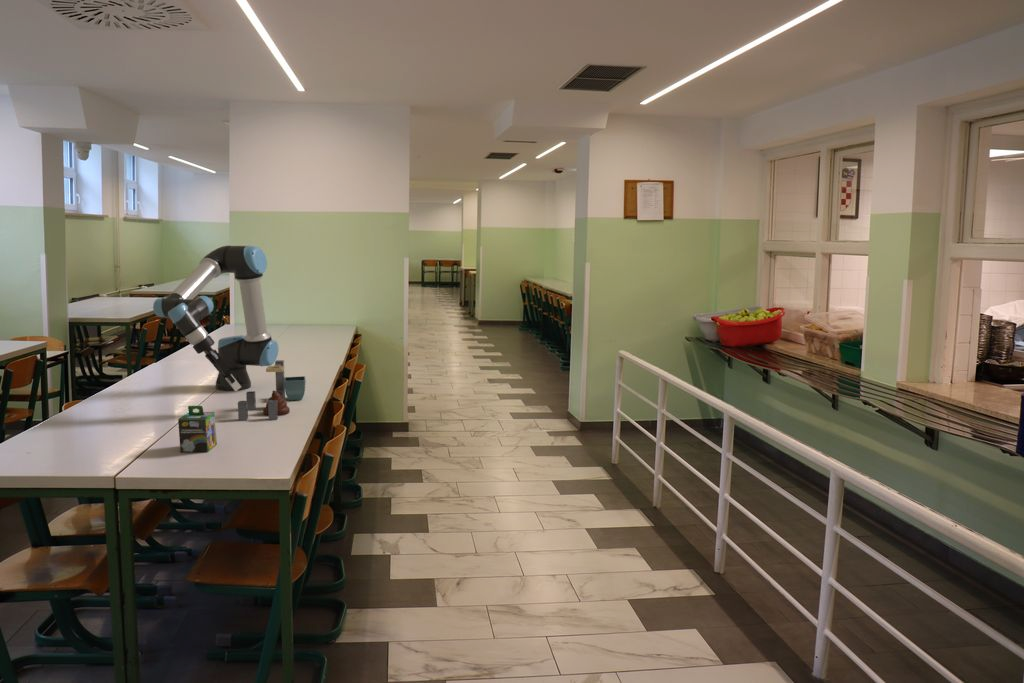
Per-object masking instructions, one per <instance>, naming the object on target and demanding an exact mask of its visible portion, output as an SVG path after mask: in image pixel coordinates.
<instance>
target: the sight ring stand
mask: <svg viewBox="0 0 1024 683" xmlns="http://www.w3.org/2000/svg"><path fill="white" fill-rule="evenodd" d="M265 373H275V391H284V401H286V392H285V379H284V377H285V360H284V359H283V360H279V359H276V360H275V362H274V365H270V366H266V369H265Z"/></svg>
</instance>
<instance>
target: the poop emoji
mask: <svg viewBox="0 0 1024 683" xmlns="http://www.w3.org/2000/svg"><path fill="white" fill-rule="evenodd" d="M269 400H278V416H285V415H288V414H289V413H290V411H291V409H290V407H289V406H288V403H287V401H286V400H285V401H284V399H283V398H282V397H281V396H280V394H279V393H278V392H276V390H272V392H271V396H270V397H269V398H268V399H267V403H266V404H265V407H264V408H263V411H262V413H263V414H264V415H265V416H267V417H269V412H268V401H269Z"/></svg>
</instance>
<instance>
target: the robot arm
mask: <svg viewBox="0 0 1024 683" xmlns="http://www.w3.org/2000/svg"><path fill="white" fill-rule="evenodd" d="M198 264H199V265H198V266H197V267H196V268H195V269H194V270H193V271H192V272H191V273H190V274H189V275H188V276H187V277H186V278H185V279H183V281H181V283H180V284H179V285H178V286H177V287H176V288H175V289H173V291H171V293H170V294H169V295H167V297H159V298H156V299H155V300H154V302H153V306H152V310H153V312H154V314H155V316H157V317H159V318H165V319H170V320H171V322H172V323H173V324H174V325H175V327H176V328H177V329H178V330H179V331H180V332H181V334H182V335H183V337H184V338H185V342H189V344H190V346H192V348H193V350H194V351H195V352H196V353H197V354H198V355H199V354H202V353H204V354H205V355H204V357H205V358H206V359H207V360H208V361H209V362H210V363H211V365H213V367H214V368H215V369H216V371H218V374H217V377H216V380H215V389H217V390H218V391H219V390H220V391H234V392H237V391H239V390H245V389H249V388H251V387H252V381H251V379H250V375H249V373H248V370H247V366H252V367H253V366H255V367H257V366H258V367H268V366H273V364H275V361H276V360H277V357H278V356H279V343H278V341H276V340H274V339H272V334H271V333H270V332H268V329H267V322H266V314H265V308H264V307H265V306H264V299H263V293H262V285H261V279H262V278H263V276H264V273H265V272H266V270H267V266H268V259H267V256H266V254H265V252H264V250H262V249H261V248H260V247H258V246H255V245H254V246H253V245H223V246H219V247H218V248H216V249H214V250H212V251H210V252H209V253H207V254H206V255H205V256H204V257H202V258H201V259H200V261H199V263H198ZM227 273H228V274H229V273H230V274H234V279H235V280H236V281H237V282H238V284H239V288H240V296H241V302H242V309H243V317H244V324H245V330H246V334H245V335H242V334H241V335H240V334H239V335H232V336H226V337H221V338H219V339H218V342H217V350H218V351H217V350H216V349H213V348H212V346H213V345H214V344H215V341H214V339H213V338H212V336H211V335H208V334H209V332H208V331H207V330H206V329H205V328H204V327H203V325H202V324H201V322H200V321H202V320H203V319H205V318H206V317H207V316H209V315H210V314H211V313H212V312H213V311H214V306H215V305H214V302H213V301H212V299H211V297H208V296H206V295H199V296H198V294H199V293H201V291H202V290H203V289H204V288H205V287H206V286H208V284H209V283H210V282H211V281H212V280H213V279H216V278H219V276H220V275H222V274H227ZM196 296H198V297H196ZM195 297H196V298H195ZM194 298H195V299H194Z"/></svg>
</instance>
